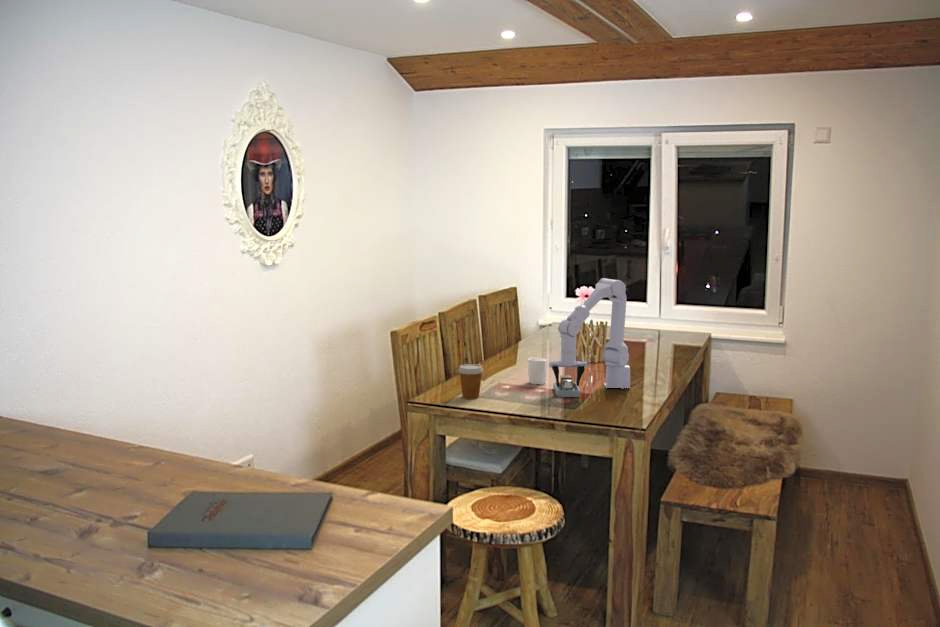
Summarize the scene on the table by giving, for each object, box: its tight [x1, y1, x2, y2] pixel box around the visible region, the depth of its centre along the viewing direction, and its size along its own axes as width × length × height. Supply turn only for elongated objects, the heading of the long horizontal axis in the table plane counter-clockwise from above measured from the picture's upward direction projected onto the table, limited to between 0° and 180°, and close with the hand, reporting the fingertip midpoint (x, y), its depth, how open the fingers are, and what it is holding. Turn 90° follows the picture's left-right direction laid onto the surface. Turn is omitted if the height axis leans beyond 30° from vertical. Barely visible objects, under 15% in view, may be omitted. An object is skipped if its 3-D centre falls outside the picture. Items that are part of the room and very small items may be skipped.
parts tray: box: [553, 381, 581, 398], centre depth 311 cm, size 9×14×2 cm, turn 179°
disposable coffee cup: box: [458, 363, 484, 400], centre depth 303 cm, size 10×10×12 cm
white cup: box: [527, 356, 548, 385], centre depth 327 cm, size 8×8×10 cm
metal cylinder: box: [562, 379, 574, 391], centre depth 308 cm, size 4×4×5 cm
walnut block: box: [559, 374, 573, 390], centre depth 314 cm, size 4×4×5 cm
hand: (567, 385), depth 308 cm, fingers open, 7 cm apart
